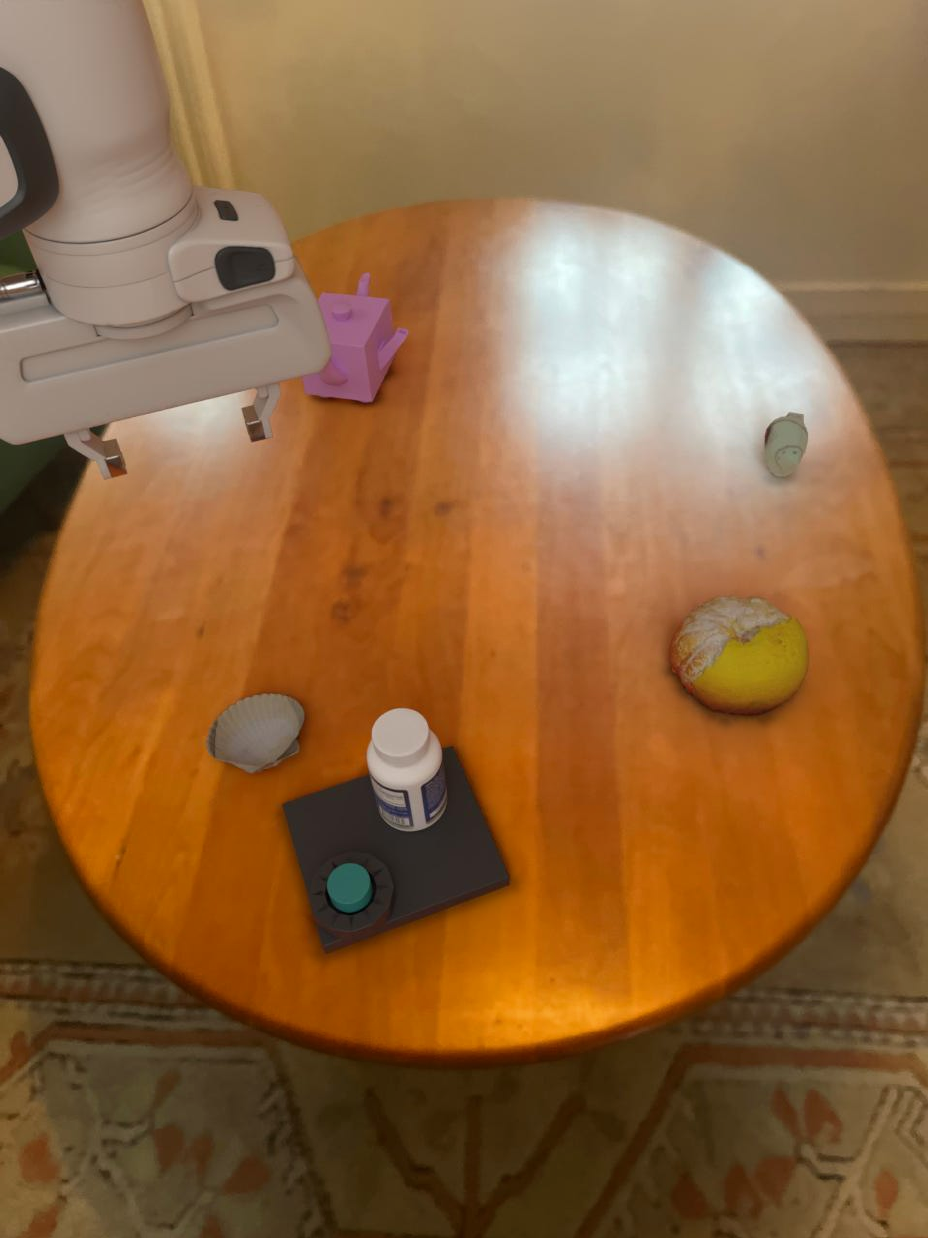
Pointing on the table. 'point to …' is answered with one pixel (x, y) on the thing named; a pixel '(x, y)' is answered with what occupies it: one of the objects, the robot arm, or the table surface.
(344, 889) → the button
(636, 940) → the table surface
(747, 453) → the table surface
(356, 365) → the teapot
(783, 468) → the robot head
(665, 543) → the table surface
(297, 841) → the black button board
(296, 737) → the seashell
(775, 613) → the fruit
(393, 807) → the pill bottle
